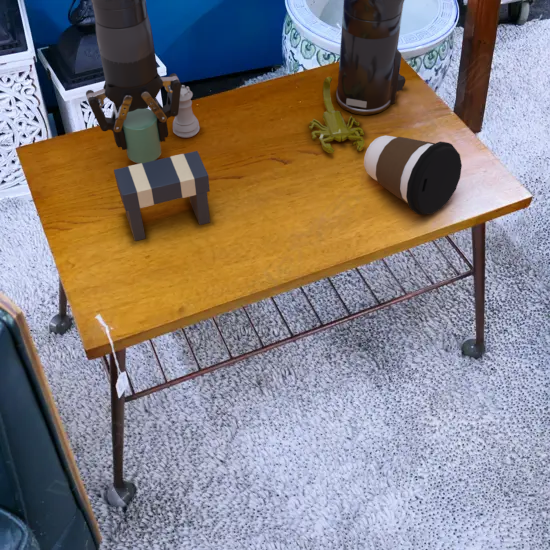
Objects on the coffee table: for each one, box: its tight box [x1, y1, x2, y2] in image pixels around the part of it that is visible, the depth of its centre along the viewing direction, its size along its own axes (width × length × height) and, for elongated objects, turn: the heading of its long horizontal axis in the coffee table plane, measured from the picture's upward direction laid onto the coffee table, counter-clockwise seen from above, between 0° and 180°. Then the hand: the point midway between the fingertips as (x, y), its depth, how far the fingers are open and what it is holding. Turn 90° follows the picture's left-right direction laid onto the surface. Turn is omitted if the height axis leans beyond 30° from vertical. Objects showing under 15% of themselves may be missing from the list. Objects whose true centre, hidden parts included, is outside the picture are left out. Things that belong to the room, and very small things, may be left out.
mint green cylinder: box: [122, 108, 163, 164], centre depth 115 cm, size 5×5×6 cm
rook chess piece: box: [172, 84, 201, 139], centre depth 121 cm, size 4×4×8 cm
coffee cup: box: [363, 135, 463, 215], centre depth 111 cm, size 11×11×12 cm
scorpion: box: [308, 76, 365, 154], centre depth 122 cm, size 9×15×6 cm, turn 11°
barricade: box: [113, 150, 211, 242], centre depth 107 cm, size 12×6×9 cm, turn 110°
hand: (142, 142), depth 116 cm, fingers closed on mint green cylinder, 5 cm apart
